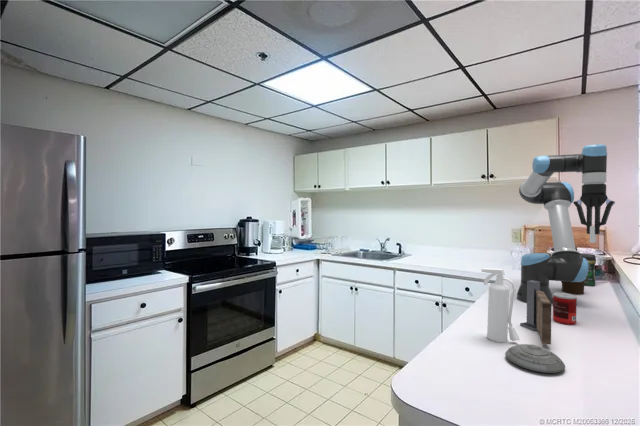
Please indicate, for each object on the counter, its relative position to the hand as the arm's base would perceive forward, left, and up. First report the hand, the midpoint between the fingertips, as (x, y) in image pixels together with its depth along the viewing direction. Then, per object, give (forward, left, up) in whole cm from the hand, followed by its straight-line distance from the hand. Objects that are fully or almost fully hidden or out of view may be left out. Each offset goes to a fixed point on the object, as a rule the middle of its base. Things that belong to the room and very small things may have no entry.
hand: (592, 242), depth 131 cm
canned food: (-7, -8, -33) cm, 34 cm away
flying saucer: (-1, -57, -33) cm, 66 cm away
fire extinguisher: (-15, -47, -33) cm, 59 cm away
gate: (-6, -34, -31) cm, 46 cm away
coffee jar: (-20, +76, -33) cm, 85 cm away
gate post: (-12, -25, -32) cm, 43 cm away
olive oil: (-19, +49, -33) cm, 62 cm away
